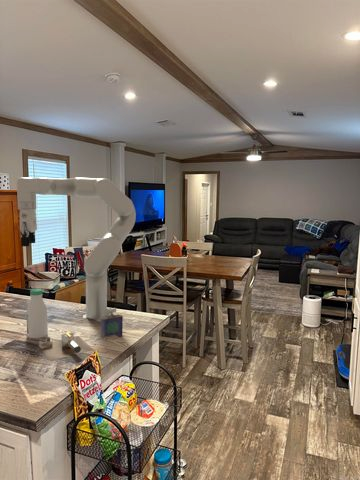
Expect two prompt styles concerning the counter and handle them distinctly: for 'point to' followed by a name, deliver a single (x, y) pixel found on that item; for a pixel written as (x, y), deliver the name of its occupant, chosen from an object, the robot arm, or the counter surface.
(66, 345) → the crank handle
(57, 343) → the lever stand
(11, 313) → the counter surface
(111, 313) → the flask
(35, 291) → the milk bottle
